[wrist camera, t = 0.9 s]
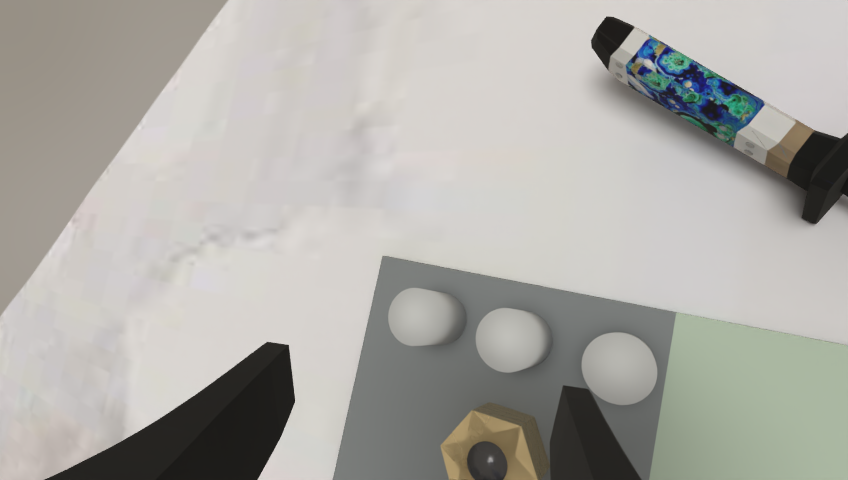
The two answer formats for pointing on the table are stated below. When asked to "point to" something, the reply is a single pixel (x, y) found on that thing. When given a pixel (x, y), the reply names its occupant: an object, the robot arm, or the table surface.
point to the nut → (495, 446)
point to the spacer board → (466, 382)
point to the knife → (727, 113)
